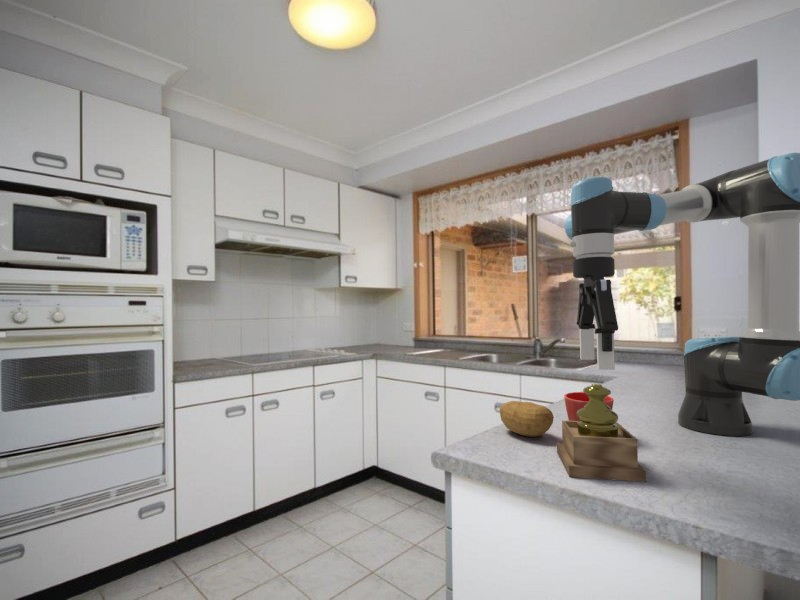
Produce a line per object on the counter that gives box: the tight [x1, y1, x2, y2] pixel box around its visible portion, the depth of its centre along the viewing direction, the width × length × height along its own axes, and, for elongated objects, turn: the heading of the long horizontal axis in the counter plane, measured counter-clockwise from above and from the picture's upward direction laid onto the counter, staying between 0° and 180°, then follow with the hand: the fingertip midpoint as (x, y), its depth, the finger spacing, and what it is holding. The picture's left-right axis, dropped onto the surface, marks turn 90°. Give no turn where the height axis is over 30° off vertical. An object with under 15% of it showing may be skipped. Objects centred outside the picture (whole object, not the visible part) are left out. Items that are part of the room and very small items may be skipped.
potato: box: [499, 400, 554, 438], centre depth 101 cm, size 10×14×8 cm
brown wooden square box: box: [556, 419, 647, 482], centre depth 81 cm, size 13×13×7 cm
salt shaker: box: [577, 383, 619, 438], centre depth 81 cm, size 7×7×10 cm
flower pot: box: [563, 391, 614, 421], centre depth 99 cm, size 11×11×10 cm
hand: (596, 364), depth 82 cm, fingers open, 13 cm apart
